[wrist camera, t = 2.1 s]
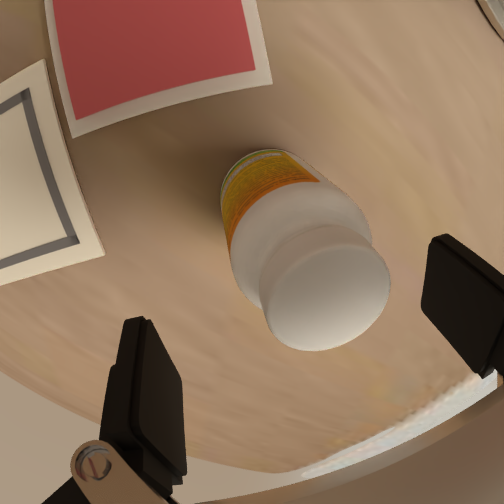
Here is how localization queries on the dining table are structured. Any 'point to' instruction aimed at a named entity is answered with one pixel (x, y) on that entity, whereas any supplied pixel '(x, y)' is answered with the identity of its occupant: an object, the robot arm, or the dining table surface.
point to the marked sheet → (38, 184)
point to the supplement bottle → (301, 251)
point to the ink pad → (150, 55)
